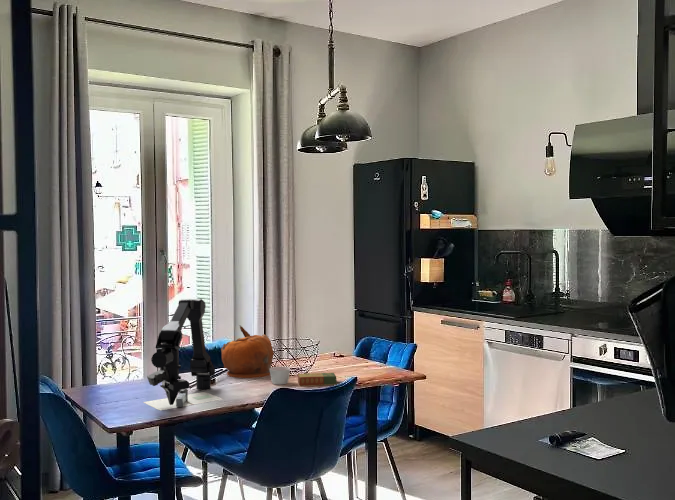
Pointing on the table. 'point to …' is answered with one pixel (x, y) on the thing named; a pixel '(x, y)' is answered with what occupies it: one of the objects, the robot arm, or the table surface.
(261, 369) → the pumpkin
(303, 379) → the carton
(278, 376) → the candle
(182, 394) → the bar
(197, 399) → the board
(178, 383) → the robot arm
